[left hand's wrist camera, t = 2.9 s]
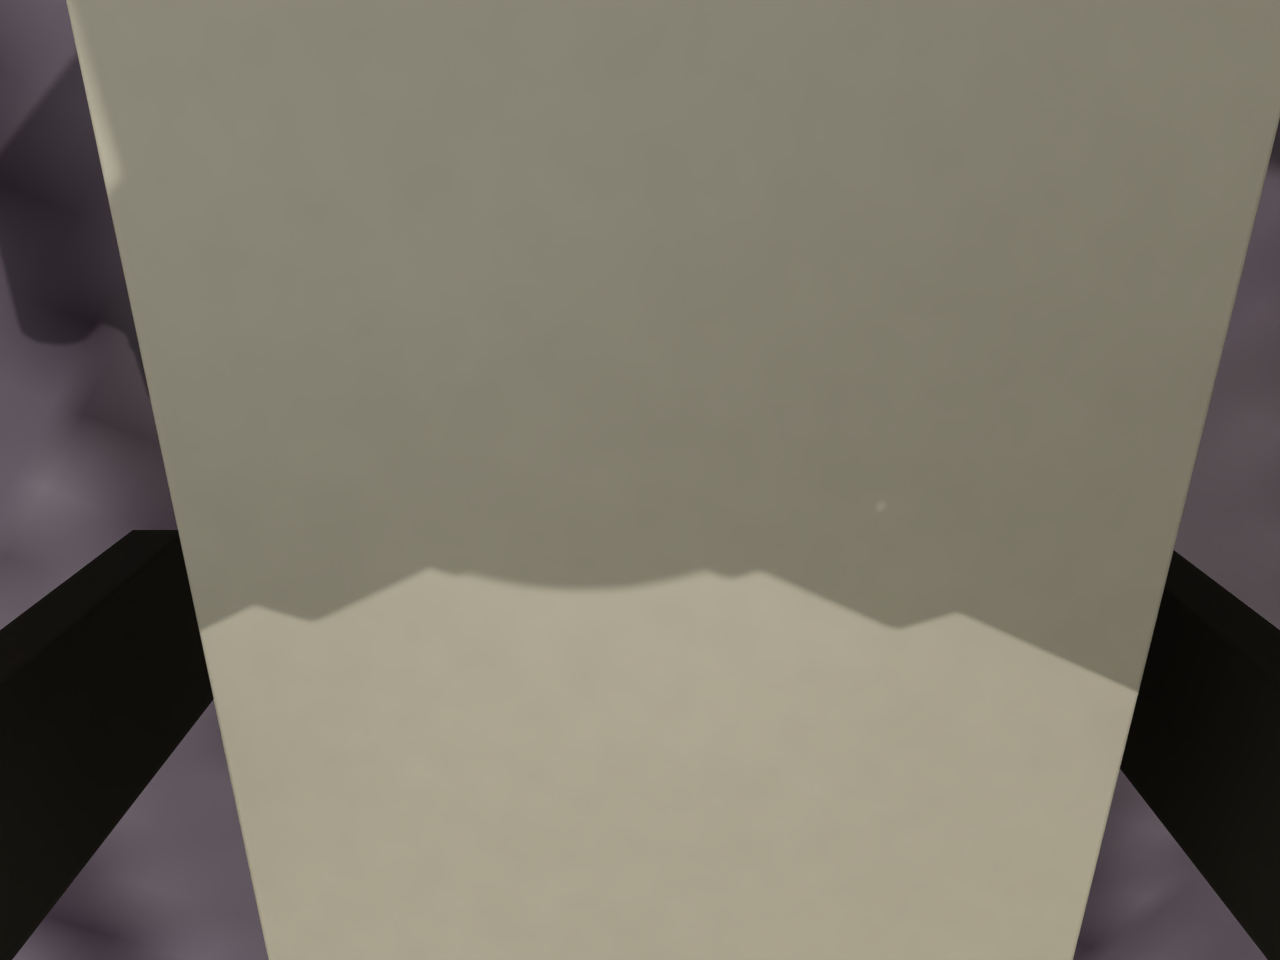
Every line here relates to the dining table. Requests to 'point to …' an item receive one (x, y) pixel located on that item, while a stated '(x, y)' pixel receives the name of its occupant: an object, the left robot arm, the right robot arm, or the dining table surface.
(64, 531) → the dining table surface
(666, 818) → the slab
